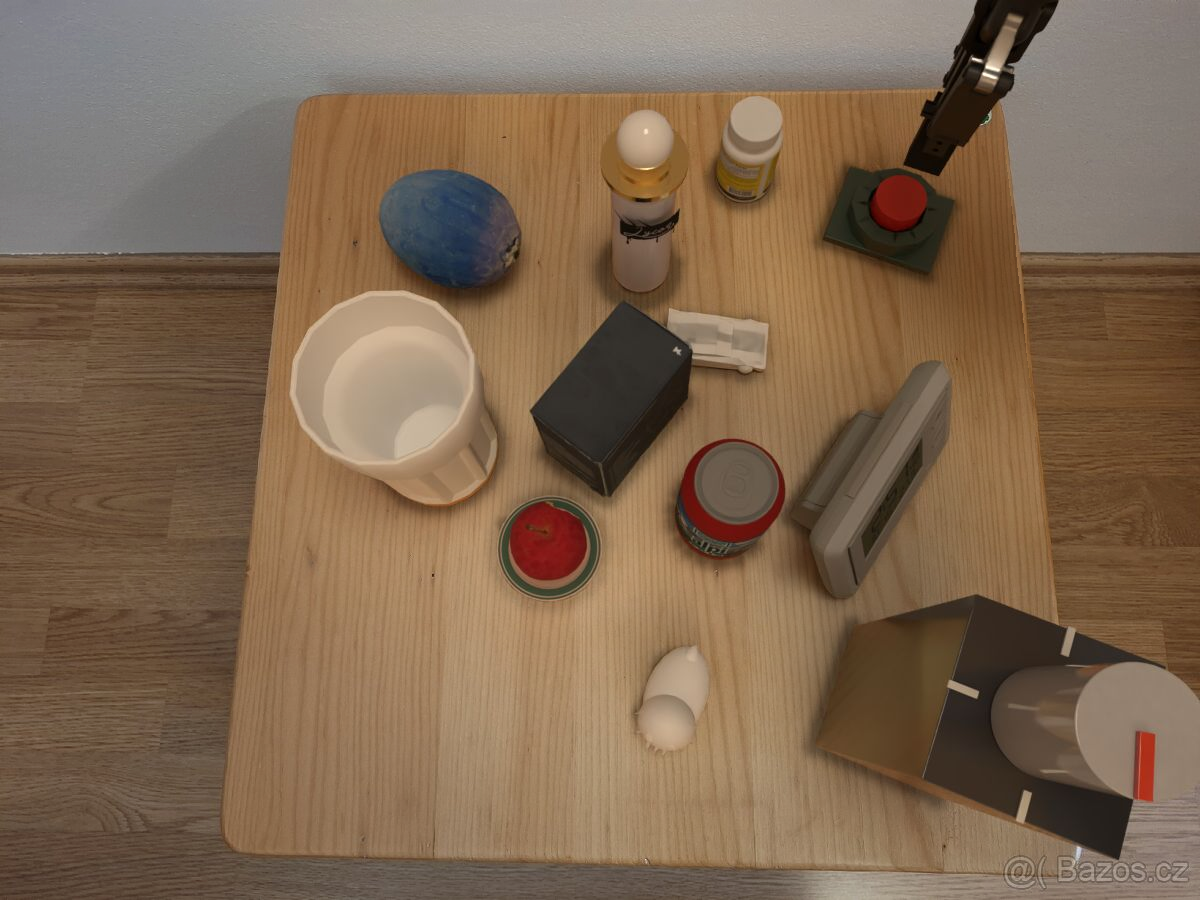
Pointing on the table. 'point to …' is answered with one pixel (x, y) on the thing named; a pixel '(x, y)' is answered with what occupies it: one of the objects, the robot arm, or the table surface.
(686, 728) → the toy creature
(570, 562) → the apple
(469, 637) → the table surface
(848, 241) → the button box
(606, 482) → the box
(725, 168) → the supplement bottle
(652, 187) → the perfume bottle
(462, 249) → the blue plum
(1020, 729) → the hob knob
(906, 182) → the button
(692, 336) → the toy car
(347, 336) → the cup
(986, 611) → the pillar
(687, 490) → the beverage can
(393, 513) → the table surface
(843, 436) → the digital clock
